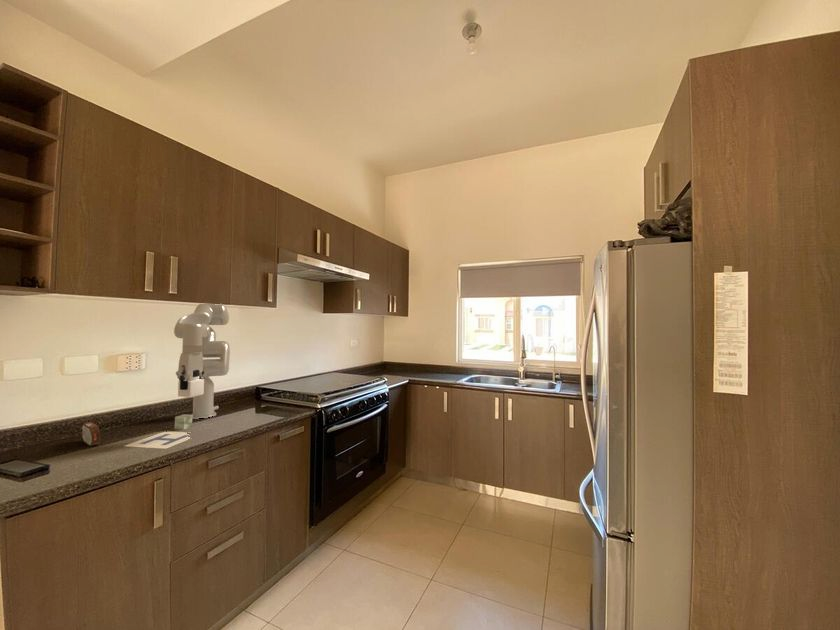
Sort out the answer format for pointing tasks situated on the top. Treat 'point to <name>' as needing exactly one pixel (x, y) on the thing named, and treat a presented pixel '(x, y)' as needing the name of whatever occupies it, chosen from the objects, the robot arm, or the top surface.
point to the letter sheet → (161, 440)
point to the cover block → (183, 422)
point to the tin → (91, 434)
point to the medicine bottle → (192, 386)
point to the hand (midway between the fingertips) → (191, 387)
